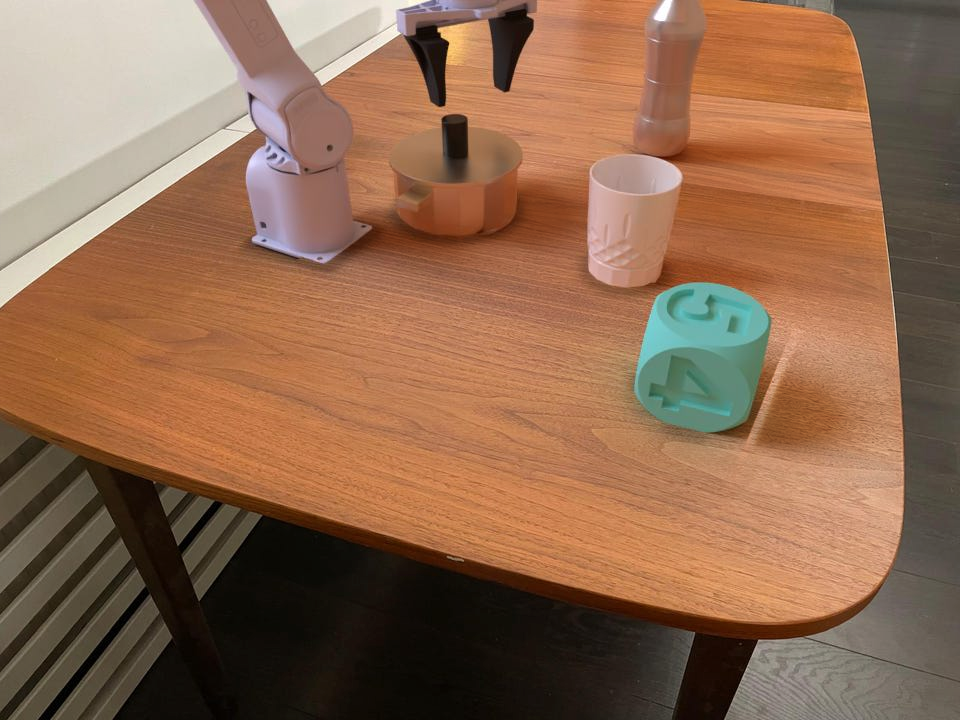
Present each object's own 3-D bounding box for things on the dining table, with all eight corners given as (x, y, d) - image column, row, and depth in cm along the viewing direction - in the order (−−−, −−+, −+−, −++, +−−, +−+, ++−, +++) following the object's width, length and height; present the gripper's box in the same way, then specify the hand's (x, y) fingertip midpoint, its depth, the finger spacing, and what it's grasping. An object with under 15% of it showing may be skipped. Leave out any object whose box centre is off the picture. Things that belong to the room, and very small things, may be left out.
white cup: (622, 306, 67) (636, 204, 61) (563, 267, 72) (570, 169, 66) (683, 276, 71) (702, 177, 65) (623, 241, 76) (635, 146, 70)
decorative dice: (739, 446, 54) (765, 360, 49) (628, 418, 56) (642, 333, 51) (752, 377, 60) (776, 293, 55) (651, 355, 62) (665, 272, 57)
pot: (358, 232, 78) (352, 179, 74) (450, 164, 90) (448, 116, 86) (465, 264, 73) (463, 209, 69) (546, 188, 85) (549, 137, 81)
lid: (362, 175, 76) (357, 130, 73) (434, 127, 85) (432, 85, 82) (481, 206, 71) (480, 159, 68) (544, 151, 80) (546, 107, 77)
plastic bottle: (686, 165, 89) (718, -22, 76) (628, 160, 90) (650, -24, 77) (686, 142, 94) (716, -36, 81) (631, 138, 95) (652, -39, 82)
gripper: (417, -32, 64) (425, 124, 73) (558, -53, 70) (550, 94, 79) (381, -48, 69) (393, 100, 78) (516, -66, 75) (513, 74, 83)
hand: (470, 96), depth 78 cm, fingers open, 7 cm apart
